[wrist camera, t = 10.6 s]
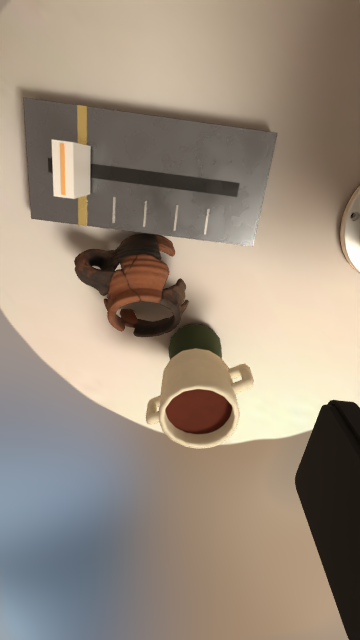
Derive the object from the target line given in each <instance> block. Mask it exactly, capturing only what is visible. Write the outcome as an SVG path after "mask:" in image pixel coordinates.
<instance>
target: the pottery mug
mask: <svg viewBox="0 0 360 640" xmlns="http://www.w3.org/2000/svg"><path fill="white" fill-rule="evenodd" d="M159 251H162V252H165V253H167V254H169V255H170V256H174V255H175V250H174V247H173V244H172V242H171V241H169V240H168V239H166V238H164V237H161V236H158V235H154V234H137V235H133V236H131V237H129V238H127V239H125V240H124V241H123V242H122V243H121V244H120V246H119V247H118V248H117V249H116V250H115V251H114V250H111V251H105V250H99V249H90V250H86V251H84V252H82V253H81V254H79V255H78V256H77V257H76V258H75V261H74V262H75V266H76V267H75V272H76V274H77V276H78V278H79V279H80V280H81V281H82V282H84V283H85V284H87V285H90V286H92V287H94V288H95V289H97V290H98V291H99V292H100V294H101V295H103V296H105V295H107V298H108V299H104V303H105V306H106V309H107V311H108V313H107V314H108V320H109V322H110V323H111V325H112V326H113V327H114V328H116V329H117V330H119V331H123V330H124V329H125V326H128V327H133V328H135V330H134V333H133V334H134V335H135V336H138V337H153V336H159V335H162V334H164V333H168V332H170V331H172V330H173V329H175V328H176V327H177V326H178V325H179V323H180V321H181V314H182V313H183V311H184V310H185V309H186V307H187V304H188V302H189V301H188V300H185V302H184V299H185V289H186V285H185V283H184V281H183V280H182V279H178V281H177V283H176V285H173V286H171V287H169V288H166V289H163V287H164V285H165V282H166V280H167V277H168V275H169V269H168V267H167V265H166V264H165V263H163V262H162V261H161V255H160V252H159ZM119 263H120V265H121V268H122V269H121V270H116V271H115V269H116V268H117V266H118V265H119ZM92 266H98V267H100V269H101V270H99V269H96V268H93V267H92ZM139 301H148V302H155V303H160V304H162V305H164V306H166V307H167V308H169V309H170V310H171V311H172V313H173V316H171V317H170V318H166V319H163V320H159V321H153V322H152V321H145V320H141V319H137V317H136V315H135V313H134V311H133V310H131V309H121V311H120V315H121V318H120V317H119V316H117V315H116V311H117V310H118V309H119V308H121V307H122V306H124V305H126V304H129V303H133V302H139ZM183 302H184V303H183ZM182 303H183V304H182Z"/></svg>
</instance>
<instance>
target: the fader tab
mask: <svg viewBox="0 0 360 640" xmlns="http://www.w3.org/2000/svg"><path fill="white" fill-rule="evenodd" d="M90 149H91V146H88V145H83V144H79V143H74V142H67V141H60V140H52V165H53V191H54V196H55V197H63V198H71V199H75V198H79V197H82V196H86V195H89V194H90Z"/></svg>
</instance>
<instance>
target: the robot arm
mask: <svg viewBox="0 0 360 640" xmlns="http://www.w3.org/2000/svg"><path fill="white" fill-rule="evenodd" d="M352 213H353V216H352V217H351V214H352ZM340 241H341V246H342V250H343V253H344V255H345V257H346V259H347V261H348V262H349V264H350V265H351V266H352V267H353V268H354V269H355V270H356V271H357V272H359V273H360V185H359V187H358V188H357V189H356V190H355V192H354V193H353V195H352V197H351V198H350V200H349V202H348V204H347V206H346V209H345V211H344V214H343V217H342V222H341V228H340ZM295 485H296V490H297V493H298V495H299V498H300V501H301V504H302V507H303V510H304V513H305V515H306V518H307V521H308V524H309V527H310V530H311V533H312V536H313V539H314V541H315V544H316V547H317V550H318V553H319V556H320V558H321V561H322V565H323V567H324V570H325V573H326V576H327V579H328V582H329V585H330V588H331V590H332V593H333V596H334V599H335V602H336V605H337V608H338V610H339V613H340V616H341V619H342V622H343V625H344V628H345V631H346V633H347V636H348V638H349V640H360V408H359V406H358V405H357V404H356V403H354V402H347V401H338V400H331V401H330V402H329V403H328V404H327V405H323V406H322V408H321V410H320V412H319V415H318V418H317V420H316V423H315V425H314V428H313V431H312V433H311V436H310V439H309V441H308V444H307V447H306V449H305V452H304V454H303V457H302V460H301V463H300V465H299V468H298V470H297V473H296V477H295Z"/></svg>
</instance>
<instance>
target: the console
mask: <svg viewBox="0 0 360 640" xmlns="http://www.w3.org/2000/svg"><path fill="white" fill-rule="evenodd" d="M23 101H24V117H25V132H26V147H27V162H28V177H29V192H30V207H31V219H38V220H45V221H53V222H61V223H69V224H77V225H83V226H93V227H101V228H109V229H117V230H125V231H133V232H141V233H149V234H157V235H165V236H173V237H181V238H189V239H197V240H205V241H213V242H221V243H229V244H237V245H245V246H253V245H254V240H255V236H256V231H257V226H258V222H259V217H260V212H261V208H262V203H263V198H264V194H265V189H266V184H267V180H268V175H269V170H270V166H271V161H272V156H273V152H274V147H275V142H276V138H277V133H274V132H267V131H259V130H252V129H245V128H238V127H231V126H224V125H216V124H209V123H202V122H195V121H188V120H181V119H173V118H166V117H159V116H152V115H145V114H138V113H130V112H123V111H116V110H109V109H102V108H95V107H88V106H82V105H73V104H66V103H59V102H52V101H45V100H37V99H30V98H23ZM52 140H60V141H67V142H74V143H79V144H83V145H88V146H91V149H90V194H89V195H86V196H82V197H79V198H75V199H71V198H63V197H55V196H54V191H53V165H52Z"/></svg>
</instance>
